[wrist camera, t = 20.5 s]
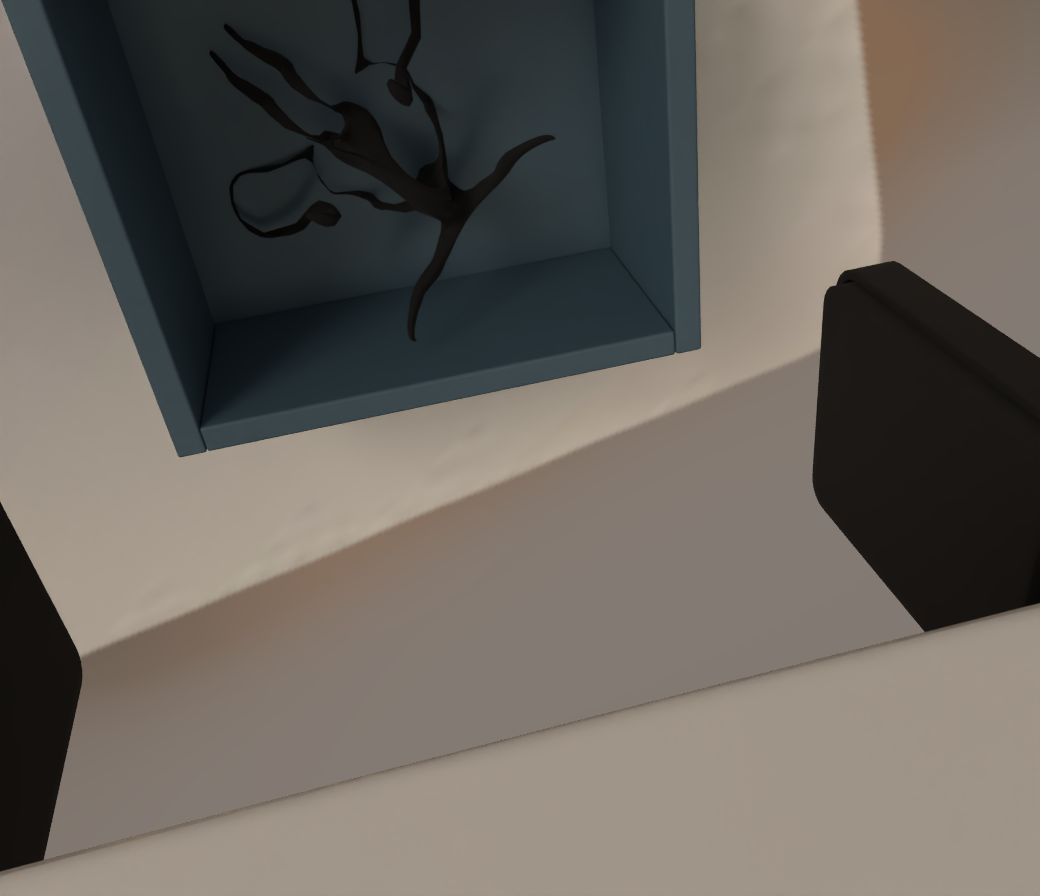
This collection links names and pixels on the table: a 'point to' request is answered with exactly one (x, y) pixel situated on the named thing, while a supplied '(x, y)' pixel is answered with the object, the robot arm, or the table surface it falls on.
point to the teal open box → (362, 228)
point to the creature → (377, 155)
